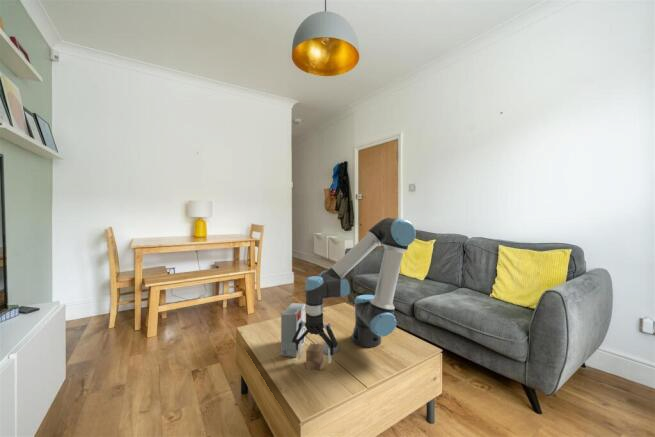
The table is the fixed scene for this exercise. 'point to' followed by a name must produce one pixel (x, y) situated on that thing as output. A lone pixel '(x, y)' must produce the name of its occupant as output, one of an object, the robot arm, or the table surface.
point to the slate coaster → (325, 349)
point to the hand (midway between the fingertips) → (314, 359)
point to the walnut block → (314, 356)
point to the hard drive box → (291, 328)
